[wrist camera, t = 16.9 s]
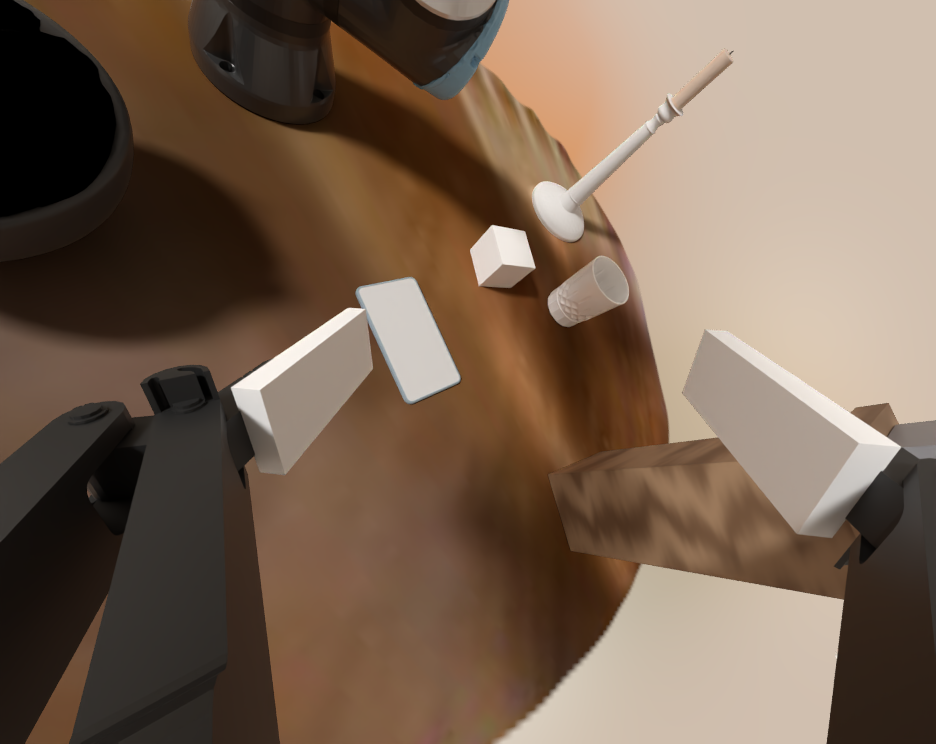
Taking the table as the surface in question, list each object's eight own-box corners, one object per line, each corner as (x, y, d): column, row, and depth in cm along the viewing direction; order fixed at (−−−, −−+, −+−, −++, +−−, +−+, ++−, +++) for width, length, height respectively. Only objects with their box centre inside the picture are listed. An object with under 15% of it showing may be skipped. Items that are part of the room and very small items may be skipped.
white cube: (510, 288, 54) (535, 268, 49) (478, 286, 51) (502, 264, 46) (500, 254, 55) (525, 231, 50) (469, 250, 52) (492, 224, 47)
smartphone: (407, 406, 39) (353, 287, 40) (404, 407, 40) (351, 290, 41) (463, 381, 44) (415, 275, 45) (460, 382, 45) (412, 278, 45)
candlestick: (529, 219, 62) (711, 39, 37) (534, 171, 67) (696, -14, 42) (580, 253, 67) (769, 115, 42) (581, 206, 72) (750, 59, 48)
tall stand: (540, 469, 47) (858, 441, 22) (603, 443, 54) (890, 402, 30) (568, 562, 45) (952, 645, 20) (629, 522, 52) (960, 546, 28)
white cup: (544, 281, 59) (591, 247, 51) (578, 298, 62) (627, 268, 54) (544, 321, 56) (594, 291, 48) (579, 336, 59) (631, 311, 51)
